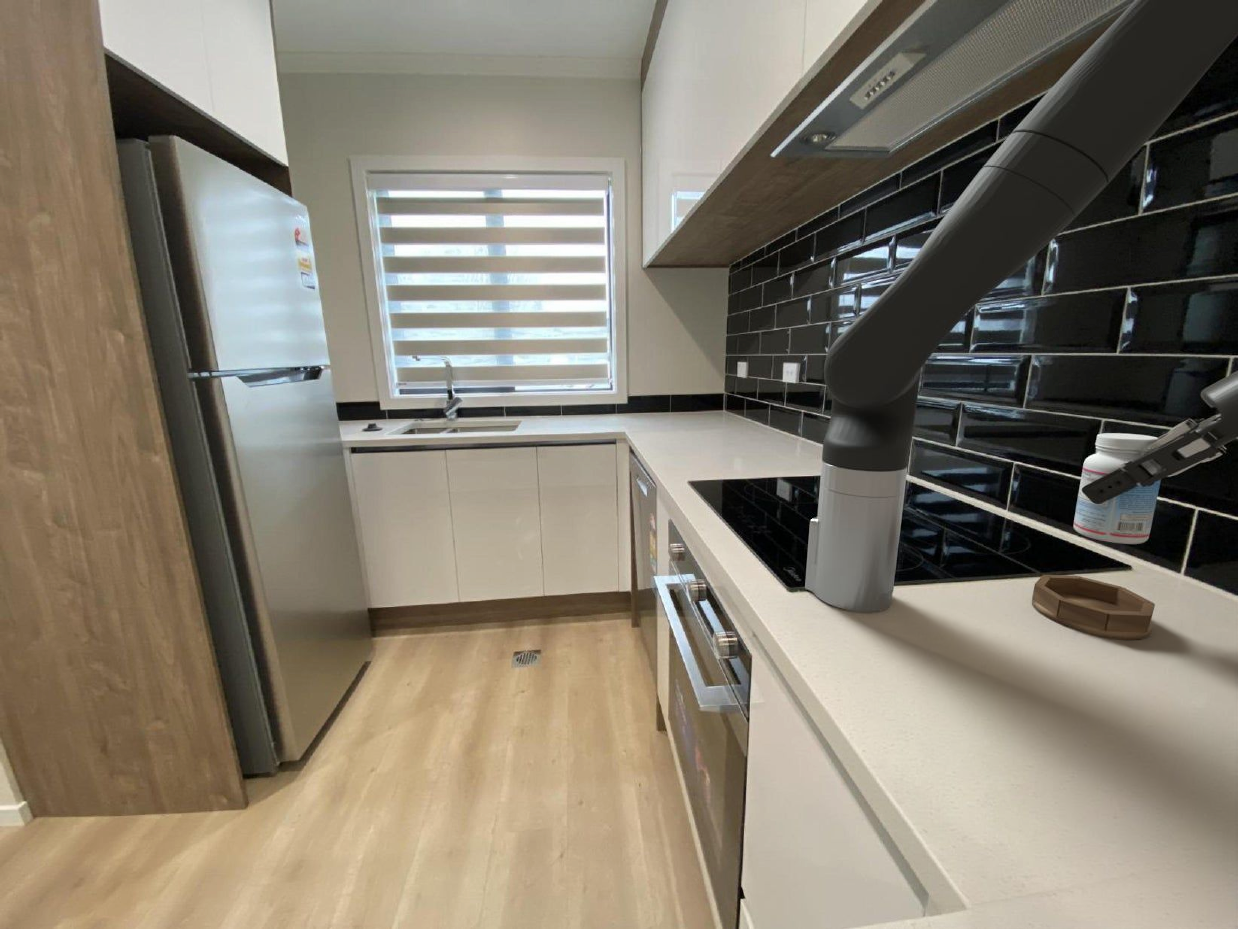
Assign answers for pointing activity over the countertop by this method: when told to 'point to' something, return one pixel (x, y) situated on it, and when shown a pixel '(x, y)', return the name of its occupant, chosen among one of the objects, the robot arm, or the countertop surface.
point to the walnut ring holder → (1093, 607)
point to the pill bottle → (1127, 511)
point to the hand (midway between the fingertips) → (1094, 490)
